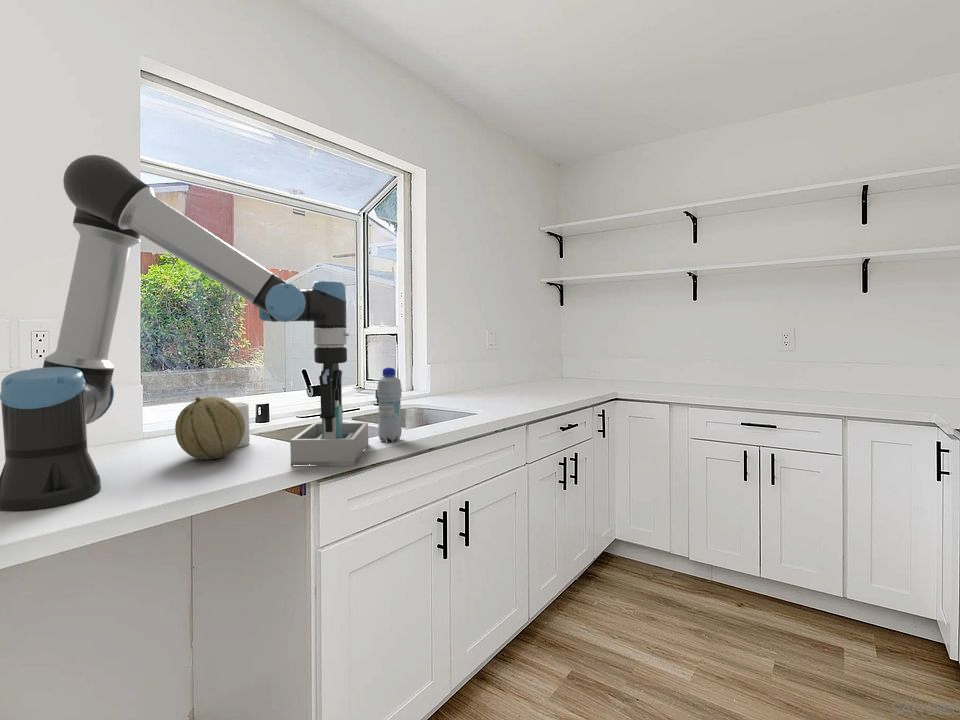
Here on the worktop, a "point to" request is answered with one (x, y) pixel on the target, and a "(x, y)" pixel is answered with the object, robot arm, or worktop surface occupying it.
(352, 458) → the box
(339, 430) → the block
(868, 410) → the worktop surface
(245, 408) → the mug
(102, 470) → the worktop surface
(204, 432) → the cantaloupe
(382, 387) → the bottle
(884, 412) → the worktop surface
